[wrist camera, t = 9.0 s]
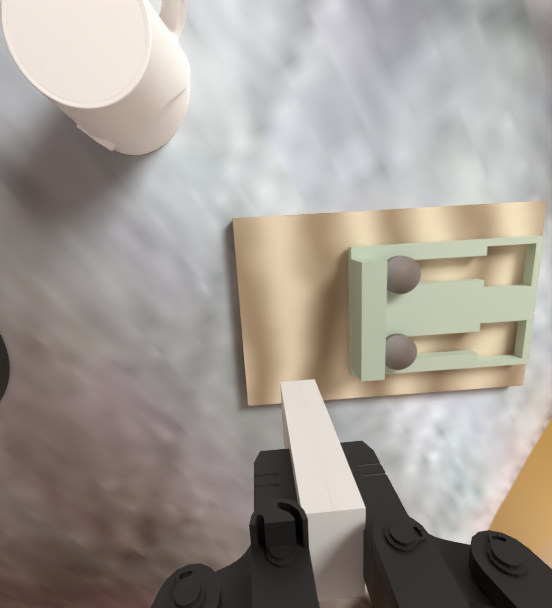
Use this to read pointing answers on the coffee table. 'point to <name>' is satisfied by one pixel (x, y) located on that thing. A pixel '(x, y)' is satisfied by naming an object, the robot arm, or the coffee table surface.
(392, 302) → the panel
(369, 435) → the coffee table surface
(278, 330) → the board
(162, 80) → the mug
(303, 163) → the coffee table surface
